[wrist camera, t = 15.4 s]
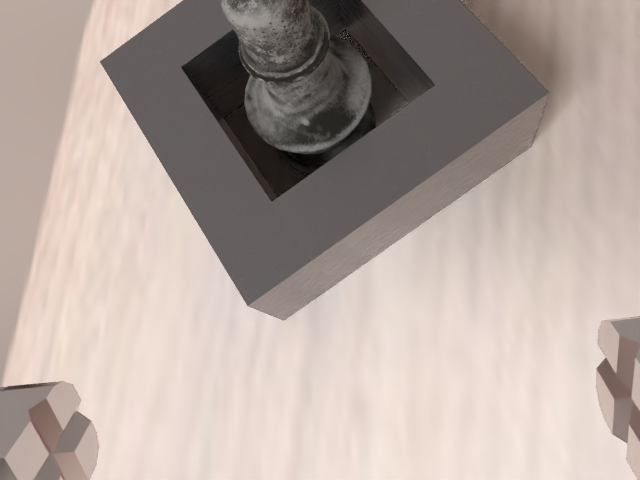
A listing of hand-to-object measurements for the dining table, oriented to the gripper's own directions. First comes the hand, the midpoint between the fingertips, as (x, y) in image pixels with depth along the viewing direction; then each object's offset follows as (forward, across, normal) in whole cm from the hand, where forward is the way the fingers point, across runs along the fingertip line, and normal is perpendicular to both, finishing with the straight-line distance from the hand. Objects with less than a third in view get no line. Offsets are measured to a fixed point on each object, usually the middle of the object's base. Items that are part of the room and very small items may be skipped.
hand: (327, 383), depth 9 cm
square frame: (+21, +1, +2) cm, 21 cm away
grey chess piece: (+21, +1, +2) cm, 21 cm away
